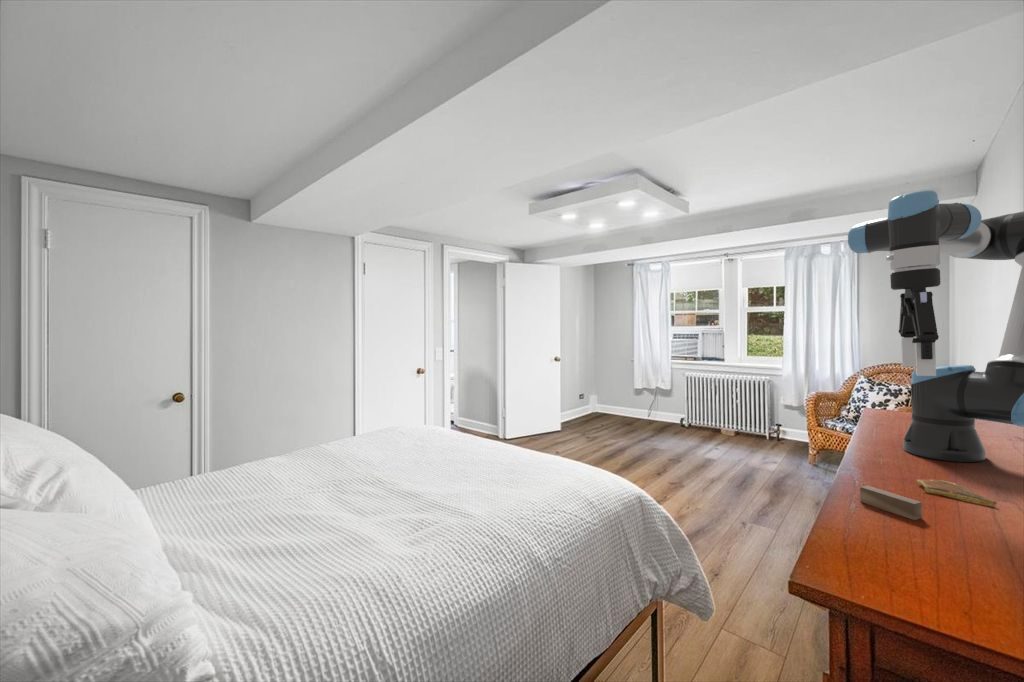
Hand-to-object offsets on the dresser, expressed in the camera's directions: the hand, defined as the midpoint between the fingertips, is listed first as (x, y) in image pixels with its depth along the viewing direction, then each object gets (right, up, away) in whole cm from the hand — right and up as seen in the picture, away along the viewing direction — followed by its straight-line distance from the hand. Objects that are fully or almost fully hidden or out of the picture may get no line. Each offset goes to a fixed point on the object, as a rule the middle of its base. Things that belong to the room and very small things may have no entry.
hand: (917, 371), depth 89 cm
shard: (+7, -26, -2) cm, 27 cm away
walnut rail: (-13, -26, -8) cm, 30 cm away
